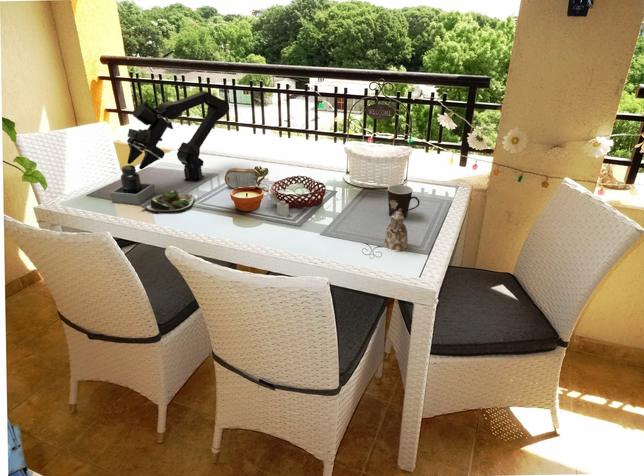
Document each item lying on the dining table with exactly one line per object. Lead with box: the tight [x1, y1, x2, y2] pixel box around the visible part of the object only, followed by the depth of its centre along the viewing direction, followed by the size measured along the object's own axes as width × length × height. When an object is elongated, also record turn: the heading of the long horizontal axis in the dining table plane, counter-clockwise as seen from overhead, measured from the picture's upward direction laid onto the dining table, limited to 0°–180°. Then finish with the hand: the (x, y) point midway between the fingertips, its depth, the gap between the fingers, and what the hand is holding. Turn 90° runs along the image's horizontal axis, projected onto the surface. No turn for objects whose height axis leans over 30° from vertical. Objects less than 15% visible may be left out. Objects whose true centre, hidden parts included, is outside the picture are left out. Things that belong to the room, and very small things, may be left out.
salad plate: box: [141, 189, 196, 215], centre depth 172 cm, size 19×18×5 cm
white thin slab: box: [268, 191, 290, 217], centre depth 162 cm, size 7×2×8 cm, turn 63°
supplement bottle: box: [120, 164, 142, 194], centre depth 175 cm, size 7×7×12 cm
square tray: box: [109, 182, 156, 206], centre depth 177 cm, size 12×12×4 cm
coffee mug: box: [387, 184, 421, 219], centre depth 159 cm, size 12×9×10 cm
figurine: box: [383, 209, 409, 251], centre depth 140 cm, size 7×7×12 cm
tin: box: [224, 167, 263, 190], centre depth 184 cm, size 15×3×8 cm, turn 84°
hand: (134, 166), depth 173 cm, fingers open, 9 cm apart
